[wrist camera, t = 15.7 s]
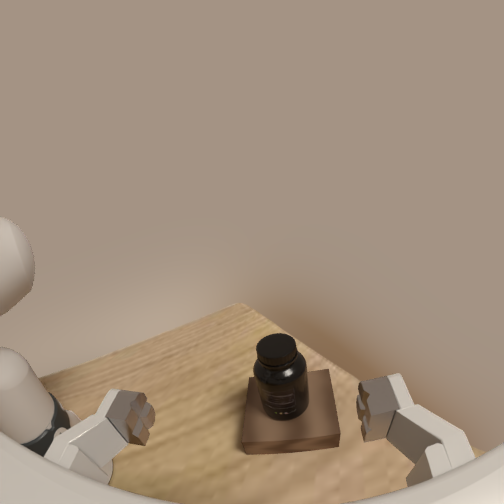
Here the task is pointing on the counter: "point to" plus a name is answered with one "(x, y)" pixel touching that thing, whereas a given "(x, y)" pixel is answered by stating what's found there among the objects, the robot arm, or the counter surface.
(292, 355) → the supplement bottle
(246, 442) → the walnut stand
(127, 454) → the counter surface
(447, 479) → the robot arm
